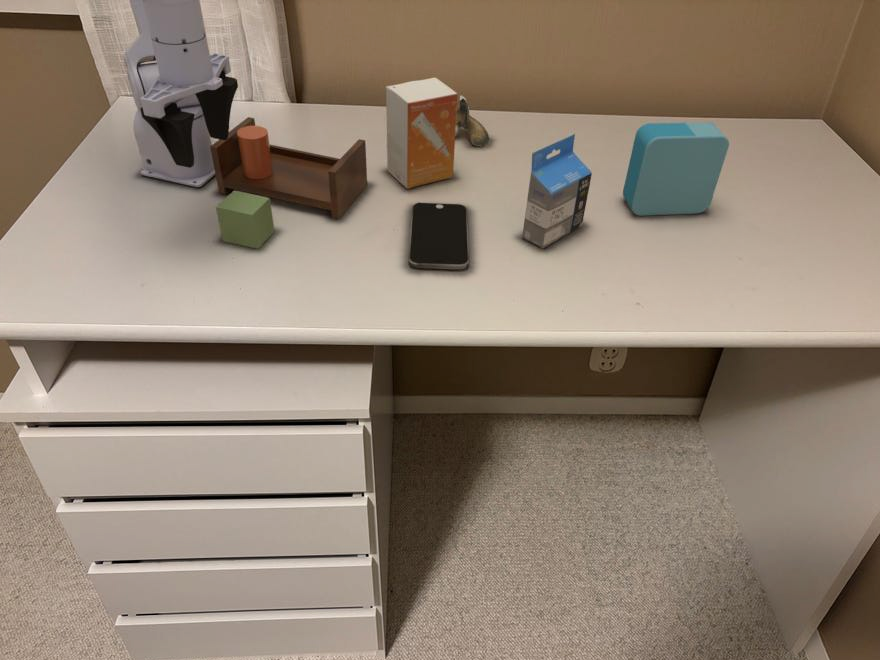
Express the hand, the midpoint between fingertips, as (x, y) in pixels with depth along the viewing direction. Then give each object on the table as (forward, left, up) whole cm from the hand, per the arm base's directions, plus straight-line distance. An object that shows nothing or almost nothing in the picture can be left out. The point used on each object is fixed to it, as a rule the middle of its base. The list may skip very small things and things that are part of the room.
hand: (202, 151), depth 88 cm
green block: (+5, -1, -10) cm, 12 cm away
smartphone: (+28, +8, -10) cm, 31 cm away
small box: (+20, +23, -11) cm, 32 cm away
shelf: (+5, +12, -10) cm, 17 cm away
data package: (+56, +28, -11) cm, 64 cm away
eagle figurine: (+22, +38, -11) cm, 45 cm away
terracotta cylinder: (0, +11, -8) cm, 13 cm away
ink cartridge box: (+42, +15, -11) cm, 46 cm away
